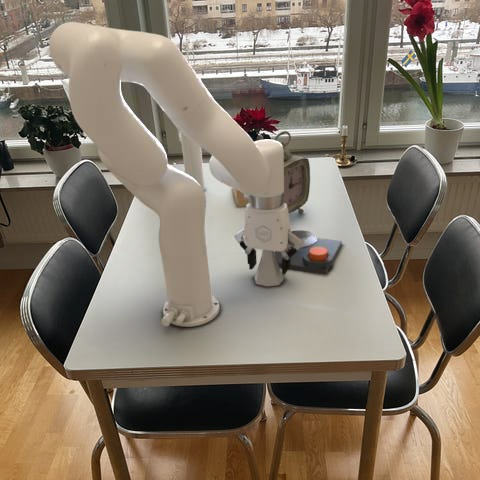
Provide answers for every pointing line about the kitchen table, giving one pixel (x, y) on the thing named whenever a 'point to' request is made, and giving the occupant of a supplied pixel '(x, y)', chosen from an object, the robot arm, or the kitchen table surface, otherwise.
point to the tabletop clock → (295, 179)
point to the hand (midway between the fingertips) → (269, 268)
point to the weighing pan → (304, 238)
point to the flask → (268, 270)
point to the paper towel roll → (192, 160)
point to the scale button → (318, 253)
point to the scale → (305, 264)
